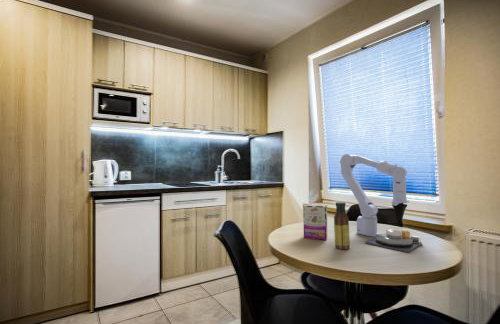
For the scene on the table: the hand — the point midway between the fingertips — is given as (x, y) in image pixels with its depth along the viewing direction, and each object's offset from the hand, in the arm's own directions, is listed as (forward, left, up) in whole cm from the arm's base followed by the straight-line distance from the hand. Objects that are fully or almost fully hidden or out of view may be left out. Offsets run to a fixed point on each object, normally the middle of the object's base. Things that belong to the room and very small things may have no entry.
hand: (399, 218), depth 131 cm
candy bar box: (-29, -29, -10) cm, 42 cm away
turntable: (+1, -11, -9) cm, 14 cm away
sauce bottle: (-12, -34, -10) cm, 37 cm away
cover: (+1, -11, -7) cm, 13 cm away
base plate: (+1, -11, -10) cm, 15 cm away
